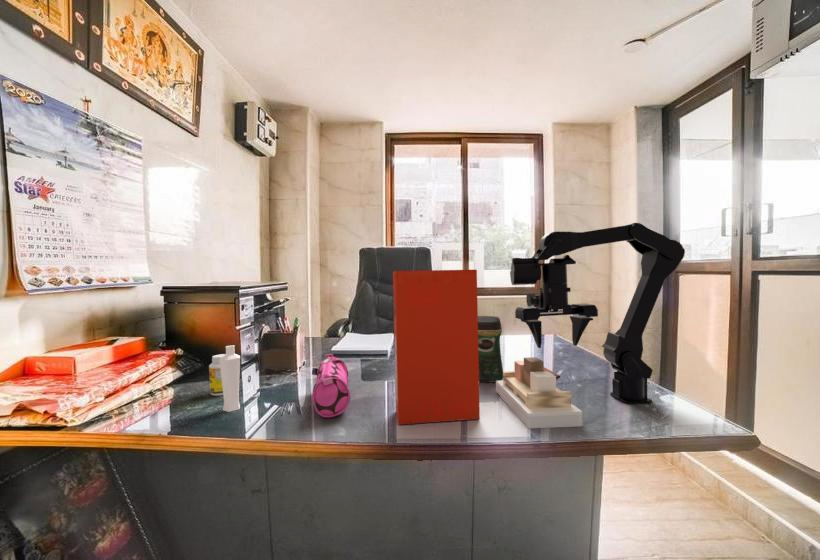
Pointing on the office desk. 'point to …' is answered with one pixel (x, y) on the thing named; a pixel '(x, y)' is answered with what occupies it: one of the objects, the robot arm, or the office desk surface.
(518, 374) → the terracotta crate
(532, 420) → the white flat block
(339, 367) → the pencil case
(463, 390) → the file binder
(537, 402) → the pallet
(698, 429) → the office desk surface
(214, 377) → the supplement bottle
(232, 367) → the white plastic bottle
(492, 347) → the coffee jar
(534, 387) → the cream crate
